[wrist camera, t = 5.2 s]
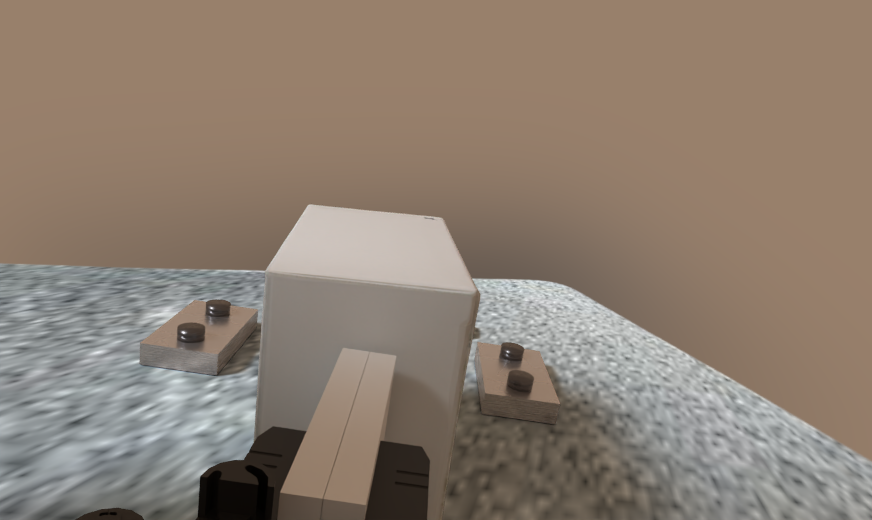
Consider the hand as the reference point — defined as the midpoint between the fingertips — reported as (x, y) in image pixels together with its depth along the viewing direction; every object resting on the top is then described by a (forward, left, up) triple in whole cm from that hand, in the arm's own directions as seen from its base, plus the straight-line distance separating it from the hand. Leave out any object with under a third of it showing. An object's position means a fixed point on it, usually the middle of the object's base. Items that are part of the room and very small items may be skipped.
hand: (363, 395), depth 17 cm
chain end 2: (+7, +17, -7) cm, 19 cm away
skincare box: (-1, +6, -7) cm, 9 cm away
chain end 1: (-11, +17, -7) cm, 21 cm away
